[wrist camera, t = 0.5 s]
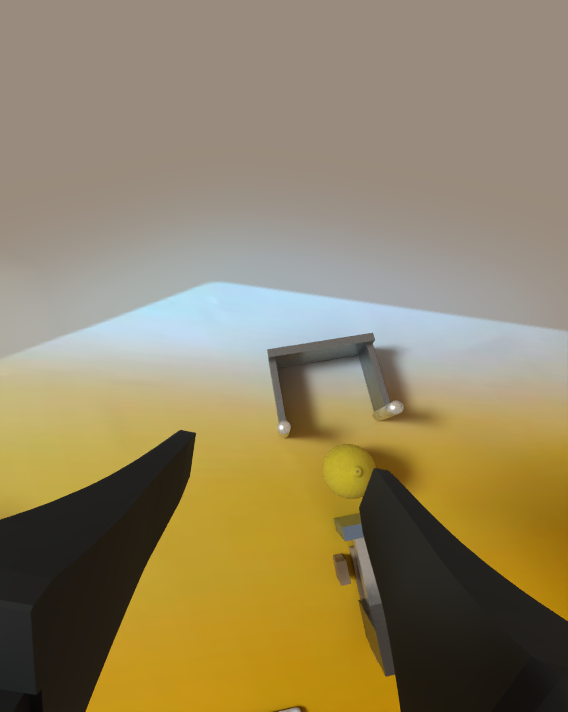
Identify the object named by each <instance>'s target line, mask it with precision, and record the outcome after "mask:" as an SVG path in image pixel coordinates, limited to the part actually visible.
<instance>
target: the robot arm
mask: <svg viewBox="0 0 568 712" xmlns="http://www.w3.org/2000/svg"><path fill="white" fill-rule="evenodd" d="M195 436H196V433H193V432H188V431H183V430H180V431H178V432H177V433H175V434H174V435H172V436H171V437H169V438H168V439H167V440H165V441H164V442H162V443H161V444H160V445H158V446H157V447H155V448H154V449H152V450H151V451H149V452H148V453H146V454H145V455H143V456H142V457H140V458H139V459H137V460H135V461H134V462H132V463H130V464H129V465H127V466H125V467H124V468H122V469H120V470H119V471H117V472H115V473H113V474H112V475H110V476H108V477H106V478H104V479H102V480H100V481H98V482H96V483H94V484H92V485H90V486H88V487H85V488H83V489H81V490H79V491H76V492H74V493H71V494H69V495H67V496H64V497H62V498H60V499H57V500H55V501H52V502H50V503H47V504H45V505H42V506H39V507H36V508H34V509H31V510H28V511H25V512H22V513H19V514H16V515H13V516H10V517H7V518H4V519H1V520H0V712H85V711H86V709H87V706H88V704H89V701H90V698H91V696H92V693H93V691H94V688H95V686H96V683H97V681H98V678H99V676H100V673H101V671H102V668H103V666H104V663H105V661H106V658H107V656H108V653H109V651H110V649H111V646H112V644H113V641H114V639H115V636H116V634H117V631H118V629H119V627H120V624H121V622H122V619H123V617H124V615H125V612H126V610H127V607H128V605H129V603H130V600H131V598H132V596H133V593H134V591H135V589H136V586H137V584H138V582H139V579H140V577H141V575H142V573H143V570H144V568H145V566H146V564H147V562H148V560H149V558H150V556H151V554H152V553H153V551H154V549H155V547H156V545H157V543H158V541H159V539H160V538H161V536H162V534H163V532H164V530H165V528H166V526H167V524H168V523H169V521H170V519H171V517H172V515H173V513H174V511H175V509H176V507H177V506H178V504H179V502H180V500H181V497H182V495H183V492H184V490H185V487H186V485H187V482H188V479H189V477H190V472H191V465H192V457H193V450H194V443H195ZM359 510H360V518H361V525H362V531H363V536H364V540H365V544H366V548H367V551H368V555H369V559H370V562H371V566H372V569H373V573H374V576H375V580H376V584H377V587H378V591H379V594H380V598H381V602H382V606H383V610H384V615H385V620H386V625H387V630H388V636H389V641H390V646H391V652H392V658H393V664H394V670H395V676H396V682H397V688H398V695H399V702H400V709H401V712H568V621H566V620H565V619H563V618H562V617H560V616H559V615H557V614H556V613H554V612H553V611H551V610H550V609H548V608H547V607H545V606H544V605H542V604H541V603H539V602H538V601H536V600H535V599H534V598H532V597H531V596H529V595H528V594H526V593H525V592H524V591H522V590H521V589H519V588H518V587H517V586H515V585H514V584H513V583H511V582H510V581H509V580H507V579H506V578H505V577H503V576H502V575H501V574H499V573H498V572H497V571H495V570H494V569H493V568H491V567H490V566H489V565H488V564H486V563H485V562H484V561H483V560H481V559H480V558H479V557H478V556H477V555H475V554H474V553H473V552H472V551H471V550H470V549H468V548H467V547H466V546H465V545H464V544H462V543H461V542H460V541H459V540H458V539H457V538H456V537H455V536H454V535H452V534H451V533H450V532H449V531H448V530H447V529H446V528H445V527H444V526H443V525H442V524H441V523H440V522H439V521H438V520H437V519H436V518H435V517H434V516H433V515H432V514H431V513H430V512H429V511H428V510H427V509H426V508H425V507H424V506H423V505H422V504H421V503H420V502H419V501H418V500H417V499H416V498H415V497H414V496H413V495H412V494H411V493H410V492H409V491H408V490H407V489H406V488H405V487H404V486H403V485H402V484H401V482H400V481H399V480H398V479H397V478H396V477H395V476H394V475H393V474H391V473H390V472H389V471H387V470H382V469H377V468H374V469H373V471H372V474H371V477H370V480H369V482H368V485H367V488H366V491H365V493H364V496H363V499H362V502H361V504H360V507H359ZM279 712H301V710H300V709H299V708H296V707H295V708H291V709H287V710H283V711H279Z"/></svg>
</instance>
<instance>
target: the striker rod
mask: <svg viewBox="0 0 568 712" xmlns="http://www.w3.org/2000/svg"><path fill="white" fill-rule="evenodd" d="M334 521H335V526H336V531H337V532H338V533H339V534H340V536H341V537H342V538H343V539H344V541H349V540H352V541H353V546H354V550H355V555H356V559H357V564H358V569H359V573H360V578H361V582H362V587H363V591H364V596H365V599H362V600H359V605H360V609H361V614H362V619H363V624H364V628H365V633H366V637H367V639H368V641H369V643H370V645H371V647H372V649H373V651H374V653H375V656H376V658H377V660H378V662H379V664H380V666H381V668H382V670H383V672H384V674H385V676H390V675H394V674H395V670H394V664H393V658H392V652H391V646H390V641H389V636H388V630H387V625H386V620H385V615H384V610H383V606H382V602H381V598H380V594H379V591H378V587H377V584H376V580H375V576H374V573H373V569H372V566H371V562H370V559H369V555H368V551H367V548H366V544H365V540H364V536H363V531H362V525H361V518H360V513H359V514H354V515H349V516H344V517H339V518H334Z"/></svg>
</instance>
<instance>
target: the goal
mask: <svg viewBox="0 0 568 712" xmlns="http://www.w3.org/2000/svg"><path fill="white" fill-rule="evenodd" d="M374 341H375V338H374V335H373V333H368V334H362V335H356V336H350V337H343V338H337V339H331V340H324V341H318V342H312V343H306V344H299V345H293V346H287V347H280V348H274V349H268V350H267V351H268V359H269V366H270V372H271V378H272V384H273V390H274V396H275V402H276V408H277V414H278V420H279V424H278V434H279V436H280V437H281V438H287V437H288V435H289V433H290V429H291V425H290V423H289V422H288V421H286V417H285V411H284V406H283V400H282V394H281V389H280V383H279V377H278V371H277V368H282V367H288V366H295V365H301V364H307V363H313V362H319V361H325V360H331V359H337V358H343V357H350V356H356V355H359V358H360V362H361V366H362V369H363V373H364V376H365V380H366V384H367V387H368V391H369V395H370V398H371V402H372V406H373V409H374V413H373V417H374V419H375V420H376V421H382V420H384V419H387V418H389V417H392V416H394V415H397V414H399V413H401V412H402V411H403V409H404V406H403V404H402V403H401V402H400V401H393V402H391V403H390V400H389V397H388V393H387V390H386V387H385V383H384V380H383V376H382V373H381V370H380V366H379V363H378V360H377V356H376V353H375V349H374V346H373V342H374Z"/></svg>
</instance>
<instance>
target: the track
mask: <svg viewBox="0 0 568 712" xmlns="http://www.w3.org/2000/svg"><path fill="white" fill-rule="evenodd" d="M349 548H350V553H351V558H352V562H353V567H354V572H355V576H356V581H357V586H358V590H359V595H360V600H362V599H365V596H364V591H363V587H362V582H361V578H360V573H359V569H358V564H357V559H356V555H355V550H354V546H349ZM333 559H334V564H335V569H336V574H337V578H338V580H339V582H340V584H341V586H342V585H347V584H351V581H350V576H349V572H348V567H347V562H346V560H345V558H344V557H343V555H342V553H341V554H337V555H333ZM370 646H371V645H370ZM371 649H372V647H371ZM372 651H373V649H372ZM373 653H374V651H373ZM374 655H375V653H374ZM375 657H376V656H375ZM376 659H377V658H376ZM377 661H378V660H377Z"/></svg>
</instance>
